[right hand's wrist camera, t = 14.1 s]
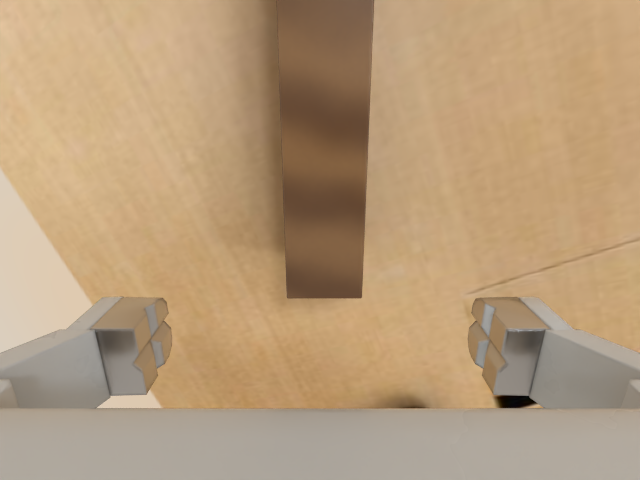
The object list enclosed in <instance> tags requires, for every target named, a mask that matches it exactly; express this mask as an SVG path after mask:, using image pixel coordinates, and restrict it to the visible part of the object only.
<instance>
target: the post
mask: <svg viewBox="0 0 640 480" xmlns="http://www.w3.org/2000/svg"><path fill="white" fill-rule="evenodd" d="M373 14H374V0H277V27H278V56H279V84H280V113H281V142H282V171H283V200H284V228H285V257H286V286H287V298H362V281H363V256H364V232H365V208H366V184H367V159H368V135H369V111H370V86H371V62H372V38H373Z"/></svg>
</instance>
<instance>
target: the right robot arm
mask: <svg viewBox="0 0 640 480" xmlns="http://www.w3.org/2000/svg"><path fill="white" fill-rule="evenodd" d="M167 315H168V308H167V303H166V301H165V300H164V299H163V298H146V297H103V298H101V299H100V300H99V301H98V302H97V303H95V304H94V305H93V306H92V307H91V308H90V309H89V310H88V311H86V312H85V313H84V314H83V315H82V316H81V317H80V318H79V319H77V320H76V321H75V322H74V323H73V324H72V325H71V326H69V327H68V328H67V329H66V330H57V331H55V332H52V333H50V334H47V335H45V336H42V337H40V338H37V339H35V340H32V341H30V342H27V343H24V344H22V345H19V346H17V347H14V348H12V349H9V350H7V351H4V352H2V353H0V480H640V353H638V352H636V351H633V350H631V349H628V348H626V347H623V346H621V345H618V344H615V343H613V342H610V341H608V340H605V339H603V338H600V337H598V336H595V335H593V334H590V333H588V332H585V331H583V330H574V329H573V328H572V327H571V326H569V325H568V324H567V323H566V322H565V321H564V320H563V319H562V318H560V317H559V316H558V315H557V314H556V313H555V312H554V311H553V310H551V309H550V308H549V307H548V306H547V305H546V304H545V303H544V302H542V301H541V300H540V299H539V298H537V297H496V298H477V299H475V301H474V303H473V307H472V315H473V316H474V318H475V319H476V321H475V322H474V323H473V324H472V325H471V326H470V328H469V333H468V346H469V351H470V354H471V357H472V359H473V361H474V363H475V364H477V365H478V366H480V367H481V368H483V374H482V376H483V378H484V379H485V381H486V383H487V384H488V386H489V388H490V389H491V391H492V393H493V394H494V395H523V396H530V398H531V399H533V400H534V401H535V402H537V403H538V404H539V405H541V406H542V407H543V408H97V407H98V406H99V405H101V404H102V403H103V402H105V401H106V400H107V399H109V398H110V396H117V395H146V394H147V393H148V391H149V389H150V388H151V386H152V384H153V383H154V381H155V379H156V378H157V376H158V374H157V368H159V367H160V366H162V365H163V364H165V363H166V361H167V359H168V357H169V355H170V351H171V347H172V333H171V328H170V326H169V325H168V324H167V323H166V322H165V321H164V319H165V318H166V316H167Z"/></svg>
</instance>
